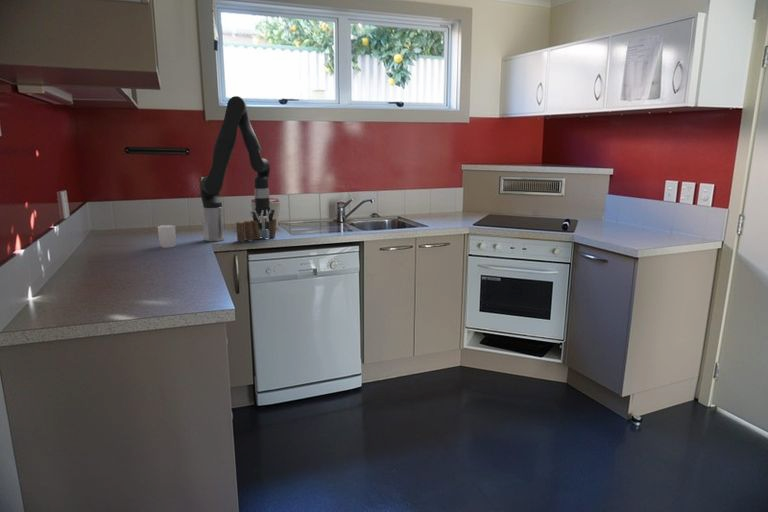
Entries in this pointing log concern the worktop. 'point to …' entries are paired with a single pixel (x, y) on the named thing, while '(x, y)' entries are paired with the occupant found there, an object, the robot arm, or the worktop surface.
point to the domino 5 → (272, 227)
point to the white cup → (166, 236)
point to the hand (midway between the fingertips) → (263, 229)
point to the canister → (273, 205)
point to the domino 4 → (264, 233)
